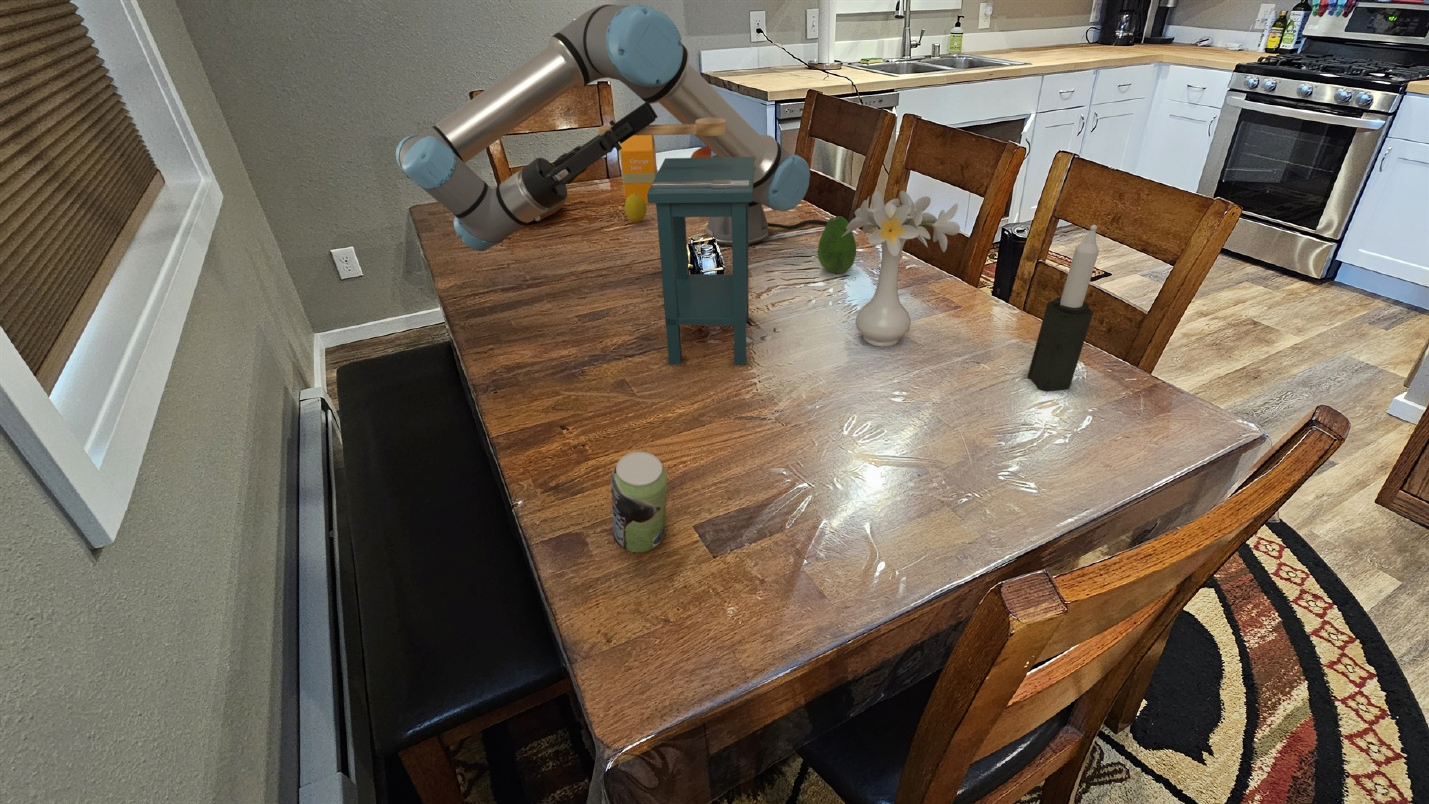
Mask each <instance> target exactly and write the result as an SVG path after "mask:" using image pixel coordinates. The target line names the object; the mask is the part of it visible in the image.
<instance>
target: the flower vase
mask: <svg viewBox="0 0 1429 804" xmlns="http://www.w3.org/2000/svg"><path fill="white" fill-rule="evenodd" d="M931 200H932V199H931V197H929V196H927V195H924V196H921V197H919V198H918V199H917V200H915V202H914V201H913V200H912V197H911V196H910V195H909V193H908V192H906V191H905V190H901V191H900V192H899V198H893V199H891V200H888V202H887V203H886V204H885V199H884V196H883V194H882V193H881V192H880V191H879V190H876V191H874V192H873V193H872V196H871V200H870V196H868V197H867V199H864V200H863V201H862V203H861V205H860V207H859V208H857V209H855V211H854V215H855V216H854V217H855V219H853V220H852V221H851V222H850V223H849V224H848V225H847V227H846V229H848V230H847V231H846V232H845V233H844V234H843V235H842V236H844V235H846V234H848V233H850V232H851V231H852V232H853V231H856V230H859V229H860V228H862V233H863V234H867V233H870V232H871V231H873V230H874V229H876V228H878V229H876V230H875V231H873V232H872V233H871V234H870V235H869V236H868V239H867V242H868V243H869V244H870V245H872V246H875V245H881V262H880V267H879V268H880V270H879V276H878V280H877V285H876V288H875V291H874V293H873V295H872V297H871V299H870V300H869V301H867V303H865V304H864V305H863V306H862V307H861V308H860V309H859V311H858V312H857V314H856V316H855V317H856V318H855V321H854V323H855V325H856V329H857V330H858V331H859V333H860V334H861V335H862V337H863V340H864V341H865V342H866V343H867V344H869V345H871V346H875V347H880V348H881V347H882V348H883V347H885V348H886V347H892V346H895V345H896V344H897V343H899V341H900V339H901V338H902V337H904V336H905V335H906V334H907V333H908V332H909V331H910V329H911V324H912V320H911V316H910V314H909V312H908V310H907V308H906V307H904V306H903V304H902V303H901V300H900V297H899V289H898V287H899V271H900V262H901V257H902V253H903V249H904V246H905V244H906V241H907V240H912V239H915V238H916V239H917V240H918V241H920V242H921V243H922V244H923V245H924V246H925V247H926V248H929V244H928V243H927V241H926V240H931V234H930V233H929V231H928V230H927V228H926V227H924V226H928V227H929V226H930V227H932V228H933V234H932V235H933V236H932V242H933V243H936V242H938V243H939V246H940V249H941V250H940V251H942V253H945V252H946V251H947V248H948V237H947V235H949V236H956V235H957V234H959V232H960V231H961V226H960V224H959V223H957V222H955V221H951V220H952V219H953V218H954V217H955V216H956V214H957V212H958V209H959V204H958V203H955V204H953V205H952V206H951V207H950V208H949V209H948V210H947V211H946V212H945V210H944V209H942V210H940V212H939V214H938V217H936V216H935V215H934V214H932V213H929V212H924V211H926V209H928V207H929V206H930V204H931ZM870 201H871V202H870ZM869 202H870V203H871V208H870V207H869ZM900 203H901V205H900ZM899 205H900V206H899ZM842 236H841V237H842Z"/></svg>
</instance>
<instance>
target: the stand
mask: <svg viewBox="0 0 1429 804" xmlns="http://www.w3.org/2000/svg"><path fill="white" fill-rule="evenodd" d="M753 179H754V157H716V158H691V157H669V158H668V157H665V158H664V160H663V162H662V163H661V166H660V167H659V169H658V170H657V175H656V177H655V179H654V181H653V183H654V182H666V181H713V180H749V188H724V189H712V188H653V183H652V185H651V187H650V189H649V191H648V193H647V198H648V203H656V204H655V208H656V220H657V232H658V246H659V257H660V269H661V270H660V271H661V282H662V293H663V294H662V295H663V308H664V318H665V320H664V321H665V331H666V344H667V354H668V355H667V356H668V365H669V366H670V365H675V366H676V365H677V366H678V365H681V364H682V361H683V355H682V354H683V352H682V337H681V326H733V365H734V366H747V322H749V318H750V317H749V315H750V314H749V309H750V307H749V305H750V302H749V299H750V298H749V296H750V295H749V293H750V291H749V285H750V284H749V283H750V280H749V278H750V277H749V273H750V272H749V245H748V202H752V196H753ZM731 216H732V246H731V249H732V253H731V254H732V255H731V256H732V261H731V262H732V273H729V274H728V273H727V274H726V273H725V274H723V273H721V274H716V273H715V274H713V273H712V274H711V273H709V274H707V273H706V274H703V273H702V274H695V273H694V274H689V259H688V256H689V255H688V241H687V223H686V222H687V221H686V218H710V217H731Z"/></svg>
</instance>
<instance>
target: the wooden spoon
mask: <svg viewBox="0 0 1429 804" xmlns="http://www.w3.org/2000/svg"><path fill="white" fill-rule="evenodd" d="M611 127H612V126H611V125H600V126H599V127H598V132H599V133H598V135H599V134H600V136H601V135H603V134H604V133H605V132H606V131H607V130H608V131H609V130H610V131H611V132H613V131H612V130H611ZM725 133H726V119H723V118H702V119H698V120H696V121H695V124H682V123H676V124H675V123H673V124H671V123H670V124H649V125H648V126H646V127H645V128H643V129H642V130H641V131H639V132H638V133H636V134H635V135H653V136H679V135H680V136H683V135H687V136H689V135H694V134H697V135H699V136H719V135H723V134H725Z"/></svg>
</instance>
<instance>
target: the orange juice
mask: <svg viewBox="0 0 1429 804" xmlns="http://www.w3.org/2000/svg"><path fill="white" fill-rule="evenodd" d="M654 136H655V135H633V136H632V137H630V138H629V139H627V140H626V141H624V142H623V143H621V144H620V146H621V147H622V149H621V150H619V151H620V160H621V169H622V180H623V181H622V182H623V188H624V198H625V200H626V199H627V198H628V197H629V196H630V195H632V194H633V193H636V194H638V195H640V196H641V197H642V198H643V199H644V201H645V204H646V205H656V203H648V198H647V193H648V191H649V189H650V187H651V185H652V183H653V181H654V179H655V177H656V175H657V173H658V165H657V155H656V143H655V137H654Z"/></svg>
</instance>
